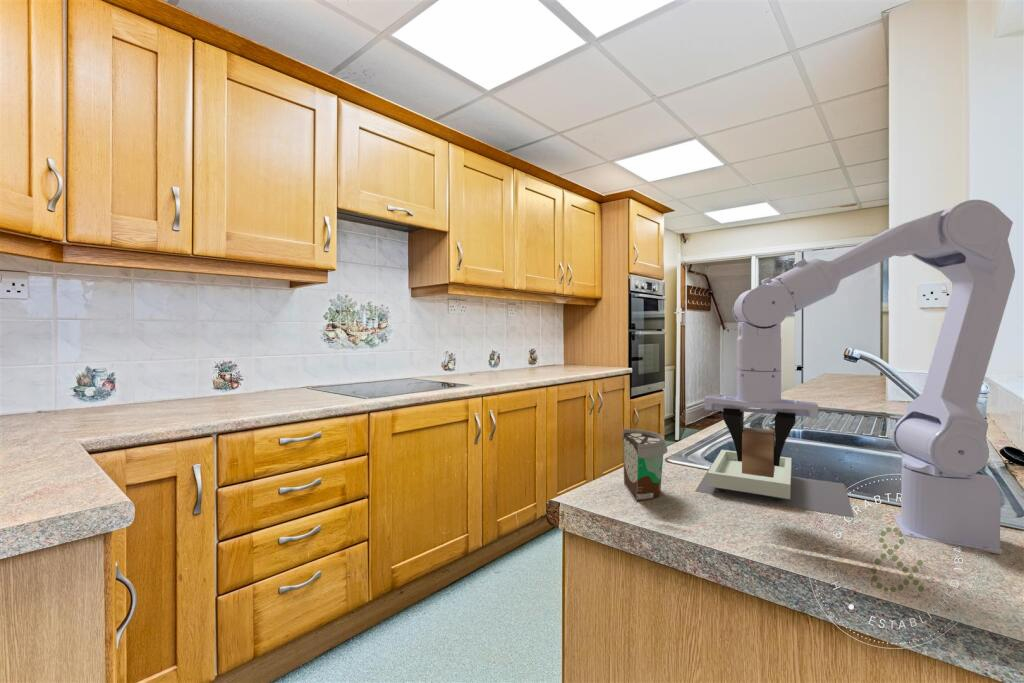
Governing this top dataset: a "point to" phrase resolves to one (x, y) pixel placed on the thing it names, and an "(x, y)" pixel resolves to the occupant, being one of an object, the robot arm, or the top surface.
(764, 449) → the walnut block
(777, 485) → the pale green tray
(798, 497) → the mat
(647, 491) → the food container
